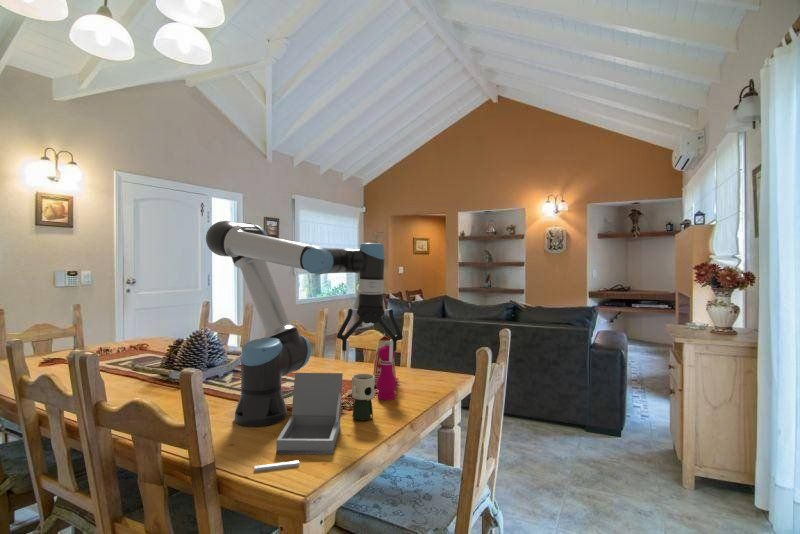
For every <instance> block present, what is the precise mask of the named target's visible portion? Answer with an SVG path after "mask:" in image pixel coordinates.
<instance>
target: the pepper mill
mask: <svg viewBox="0 0 800 534" xmlns="http://www.w3.org/2000/svg"><path fill="white" fill-rule="evenodd" d="M389 344H390V343H389V342H388V341H386V342H385V346H382V347H381V348H380V349H379V352H378V355H379V357H380V358H381V359H380V364H381V372H380V375H379V377H378V380H377V383H376V385H375V386H376V390H378V391H377V393H376V394H377V395H376V397H377V399H378V400H381V401H393V400H395V399H396V392H395V390H396V389H397V378H396V379H395V377H394V375H393V371H392V366H393V364H394V363H395V356H396V351H393V358H394V359H393V362H390V361H389V352H390V346H389Z"/></svg>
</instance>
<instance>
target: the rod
mask: <svg viewBox="0 0 800 534" xmlns="http://www.w3.org/2000/svg"><path fill="white" fill-rule="evenodd" d="M296 467H300V461H299V460H292V461H286V462H285V461H283V462H277V463H275V462H274V463H268V464H262V465H260V464H259V465H254V473H258V472H265V471H273V470H282V469H287V468H289V469H290V468H296Z"/></svg>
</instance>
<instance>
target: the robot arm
mask: <svg viewBox="0 0 800 534" xmlns="http://www.w3.org/2000/svg"><path fill="white" fill-rule="evenodd" d="M205 242H206V246H207V247H208V249H209V250H210V251H211V252H212V253H213V254H214V255H218V256H220V257H231V260H232V262H233V265H234V267H236V268H239V269H240V270H241V273H242V275H243V276H242V277H243V278H244V280H245V284H246V286H247V288H248V291H249V294H250V296H251V299H252V302H253V305H254V307H255V310H256V312H257V315H258V318H259V320H260V323H261V326H262V328H263V331H264V333H265V334H264V336H263V337H261V338H256V339H251V340H250V341H247V342H246V343H245V344H243V346H242V347H241V354H240V355H241V356H240V365H241V366H240V367H241V369H240V381H241V382H240V387H241V388H240V396H239V399H238V403H237V404H236V409H235V411H234V422H235V423H236V424H237V425H240V426H242V427H243V426H244V427H252V428H253V427H254V428H255V427H256V428H257V427H265V426H270V425H275V424H277V423H280V422H282V421H283V420H285V419H286V418H287V414H288V413H287V412H288V411H287V410H288V408H287V405H286V402H285V399H284V396H283V393H282V377H284V376H286V375H289V374H291V373H294V372H295V373H296V371H299V370H300V369H301V368H304V367H305V366H306V365H307V364H308V363H309V361H310V358H311V356H312V347H311V343H310V341H309V339H308V338H306V337H305V336H303V335H302V334H300V333H299V330H298V328H297V326H295V325H293V324H291V323H290V320H289V318H288V315H287V312H286V311H285V307H284V304H283V302H282V299H281V297H280V295H279V292H278V289H277V286H276V284H275V281H274V279H273V276H272V274H271V271H270V269H269V266H268V263H271V264H273V263H274V264H277V265H282V266H285V267H291V268H295V269H301V270H304V271H307V272H308V273H309V274H313V275H324V274H339V273H340V274H341V273H343V274H344V273H345V274H346V273H347V274H349V273H350V274H359V277H358V278H359V279H358V280H359V281H358V282H359V284H358V291H359V292H360V293H359V294H358V308H352V307H349V308H348V309H347V310H348V311H347V315H346V317H345V319H344V321H343V323H342V325H341V326H340V329H339V330H338V333H337V334H336V338H337V339H339V340H341V341H342V345H341V346H342V347H341V348H342V351H344V352H345V363H349V355H350V354H349V350H350V349H349V348H350V340H349V339H348V338H349V337H351V336H352V335H353V333H354V332H355V331H356V330H357V329H358V327H359V326H361V324H362V323H364V324H377V323H379V325H380V326H381V327H382V328H383V330H384V331H385V333H387V334H388V336H389V337H390V339H391V340H390V352H389V361H390V362H393V351H395V352H396V351H397V342H398V341H400V340H402V339H403V338H404V336H403V334H402V332H401V330H400V328H399V325H398V323H397V321H396V319H395V317H394V310H393V309H392V308H391V307H390V308H388V309H384V295H383V293H384V276H385V259H386V257H385V246H384V244H383V243H377V242H375V243H374V242H362V243H360V246H359V248H355V249H354V248H339V247H322V246H317V245H312V244H306V243H302V242H297V241H292V240H287V239H283V238H276V237H273V236H269V235H268V234H267V232H266V231H265V229H263V228H262V227H261V226H259V225H257V224H254V223H251V222H236V221H230V220H229V221H228V220H220V221H218V222H215V223H214V224H212V225H211V226H210V227H209V228H208V230H207V231H206V234H205ZM356 314H357V315H358V317H359V318H358V319H357V320H356V321H355V322H354V323H353V325H352V326H350V328H349V329H348V330H347V331H346V332H345V333H344V331H345V330H346V328H347V326H348V324H349V323H350V321H351V320H352V317H353V316H355V315H356ZM384 314H386V315H385V316H387V317H389V320H390V323H391V324H392V326H393V329H394V331H395V333H396V334H394V333H393V331H392V330H391V329H390V328H389V326H388V325H387V324H386V322H385V321H384V320H383V319H382V317H383V316H384ZM343 333H344V334H343Z"/></svg>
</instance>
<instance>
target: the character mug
mask: <svg viewBox="0 0 800 534" xmlns="http://www.w3.org/2000/svg"><path fill="white" fill-rule="evenodd" d="M375 386H376V385H375V376H374V375H373V374H371V373H355V374H353V375H352V376H351V398H352V399H355V400H354V404H353V407H352V408H353V410H352V418H353V419H356V420H359V421H368V420H371V419H372V418H373V417H374V413H373V412H374V411H373V403H372V402H373V401H372V399H374V397H375V395H376V392H375Z"/></svg>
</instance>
